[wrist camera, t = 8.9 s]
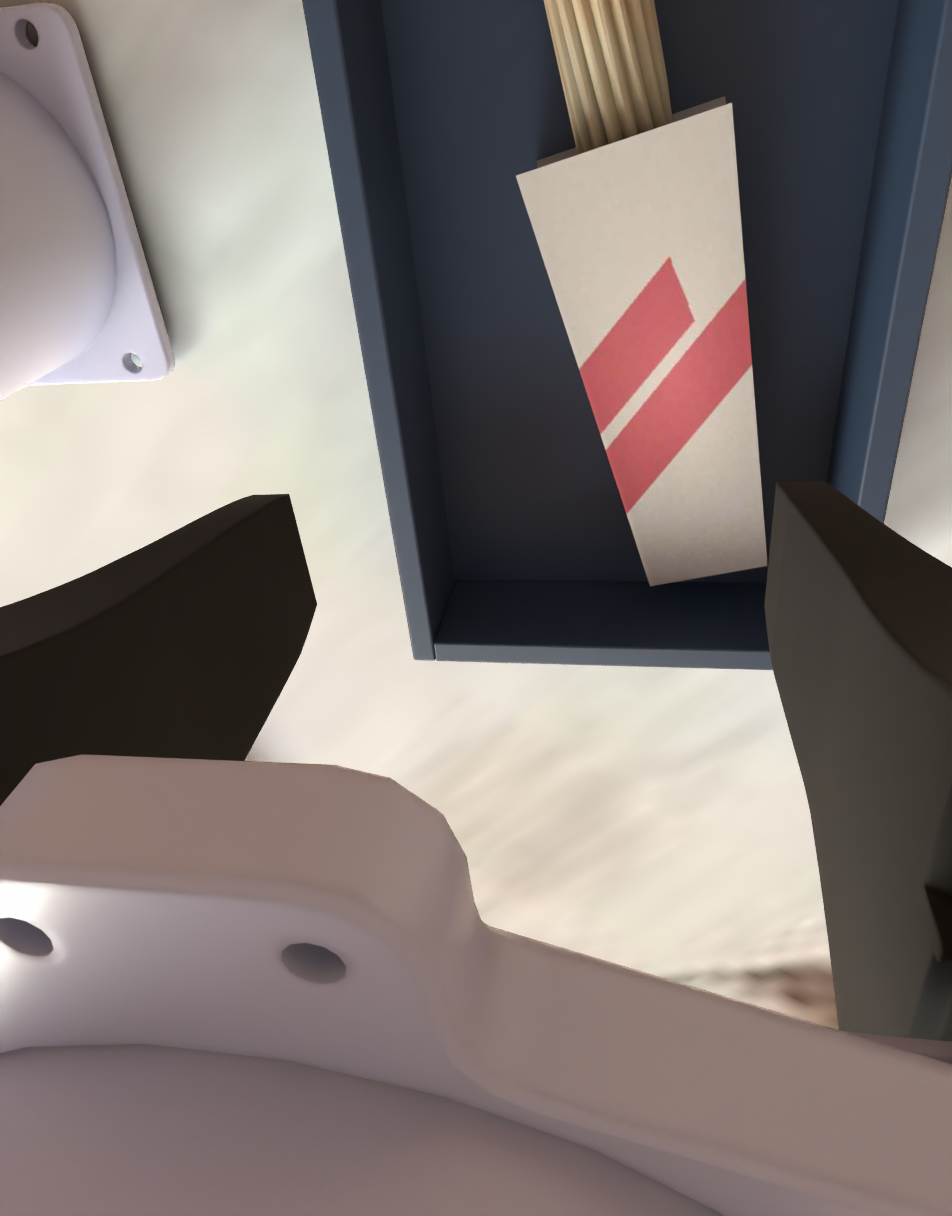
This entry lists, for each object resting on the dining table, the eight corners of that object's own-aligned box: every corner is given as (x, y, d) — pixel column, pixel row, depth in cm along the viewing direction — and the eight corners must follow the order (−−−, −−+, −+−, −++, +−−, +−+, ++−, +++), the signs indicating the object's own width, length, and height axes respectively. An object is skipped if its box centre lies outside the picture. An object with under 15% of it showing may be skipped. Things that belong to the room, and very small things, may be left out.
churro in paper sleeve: (624, 621, 20) (298, -712, 11) (628, 565, 22) (363, -572, 13) (798, 596, 19) (604, -930, 9) (783, 539, 21) (615, -733, 12)
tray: (440, 586, 25) (413, 661, 22) (248, -801, 12) (118, -1070, 9) (828, 589, 23) (855, 673, 20) (1099, -1076, 10) (1288, -1537, 7)
